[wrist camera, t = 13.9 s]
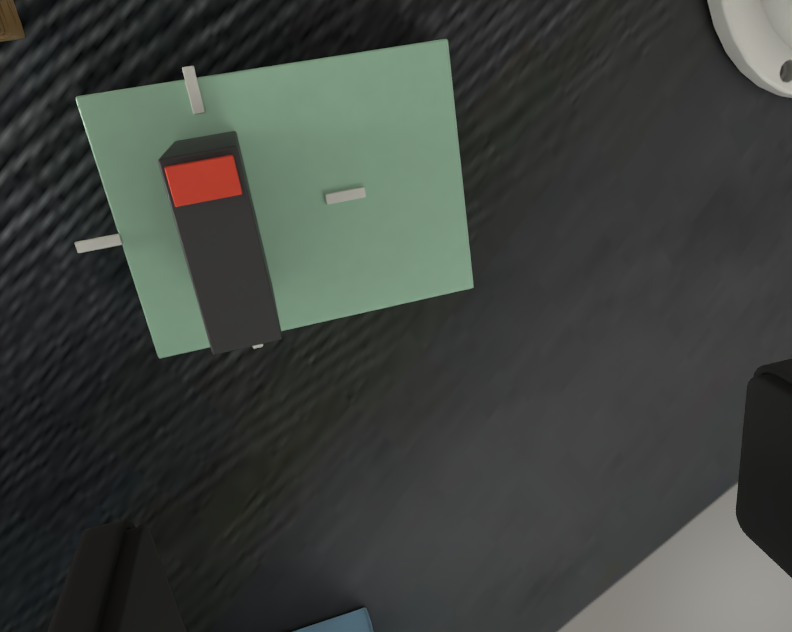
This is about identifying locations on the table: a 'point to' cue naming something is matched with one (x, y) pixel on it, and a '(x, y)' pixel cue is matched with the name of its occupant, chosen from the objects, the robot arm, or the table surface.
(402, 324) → the table surface
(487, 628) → the table surface
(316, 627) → the gum box
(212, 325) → the bar knob
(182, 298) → the toggle switch base
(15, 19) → the tan rotary knob base
